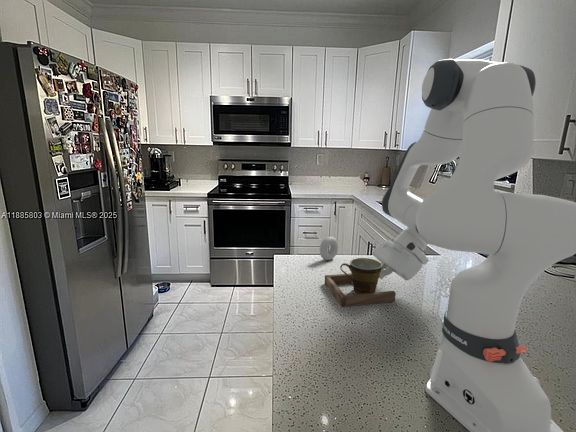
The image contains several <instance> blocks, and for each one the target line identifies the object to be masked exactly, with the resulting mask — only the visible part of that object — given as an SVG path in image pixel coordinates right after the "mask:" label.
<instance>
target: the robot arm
mask: <svg viewBox="0 0 576 432" xmlns="http://www.w3.org/2000/svg"><path fill="white" fill-rule="evenodd" d="M536 83H537V81H536V75H535V73H534V71H533V70H532V69H531V68H529V67H527V66H524V65H522V64H521V65H520V64H517V63H514V62H507V61H504V62H503V61H502V62H499V61H498V62H497V61H492V60H491V61H489V60H485V59H454V58H446V59H445V58H444V59H440V60H437V61H435V62H434V63H433V64H432V65H430V67H429V68H428V70H427V72H426V73H425V76H424V78H423V81H422V85H421V99H422V102H423V104H424V105H425V106H426V107H428V108H429V109H430V112H429V114H428V116H427V119H426V121H425V124H424V128H423V131H422V133H421V136H420V137H419V139H418V140H417V141H415V142H412V143H411V144H410V145H409V146H408V147H407V149H406V150H405V152H404V154H403V157H402V159H401V160H400V163H399V166H398V167H397V169H396V172H395V174H394V176H393V179H392V181H391V183H390V185H389V187H388V189H387V190H386V192H385V193H384V195H383V197H382V200H381V207H382V209H381V210H382V212H383V213H384V214H385V215H387V216H389V217H391V218H393V219H395V220H397V221H398V222H399V223H401V224H402V225H403V226H405V227H406V228H404V229H403V230H402V231H401V232H400V233H399V234H398V235H397V236H396V237H395V238H394V237H393V238H392V237H391V238H388V239H386V240H384V241H382V242H381V243H380V244H379V245H377V246H376V247H375V248H374V249H373V250H372V253H371V254H372V256H373V257H374V258H375V259H377V261H379V262H380V263H381V264H382V269H381V273H380V276H379V279H381V280H383V279H384V278H385V277H386V276H389V275H392V273H393V272H394V273H396V275H398V276H400V277H401V278H402V279H403V280H405V281H410V280H412V279H413V278H414V277H415V276H416V275H418V273H419V272H420V271H421V270H422V268H423V265H424V266H425V265H427V264H428V263H429V261H430V260H429V258H428V257H427V255H426V254H425V253H424V250H425V249H426V248H427V246H428V245H431V246H435V247H438V248H442V249H445V250H450V251H454V252H463V253H464V252H465V253H473V254H474V253H476V254H484V255H488V256H487V257H486V258H485V260H483V261H482V262H481V263H479V264H476V265H474V266H471V267H468V268H465V269H463V270H461V271H459V272H458V273H457V274H456V275H455V276H454V277H453V278H452V279H451V282H450V287H449V295H448V303H447V310H446V311H445V312H444V314H443V319H442V322H441V324H442V327H441V332H442V334H443V335H442V338H441V341H440V344H439V347H438V350H437V352H436V354H435V359H434V363H433V365H432V366H431V368H430V370H429V379H428V381H427V382H426V384H425V385H426V386H425V392H426V394H427V395H428V396H430V397H431V398H432V399H433V400H435V402H436V403H438V404H439V405H440V406H441V407H442V408H444V410H445V411H446V412H448V413H449V415H451V416H452V417H453V418H455V420H457V421H458V422H459V423H460V424H461V425H462V426H463V427H464V428H466V429H467V431H469V432H564V430H563V429H562V428H561V427H560V426H559V425H558V424H557V423H556V422H555V421H554V420H553V419H552V407H551V401H550V399H549V397H548V395H547V394H546V392H545V391H544V389H542V387H541V382H540V380H539V379H538V378H537V377H536V376H534V375H533V374H532V372H531V371H530V369H529V368H528V366H527V365H526V363H525V362H524V361H523V359H522V358H521V354H523V353H527V352H528V350H526V349H528V345H521V346H520V344H519V340H518V335H517V331H516V324H517V319H518V315H519V313H520V312H519V310H520V307H521V304H522V300H523V299H524V296H525V294H526V292H527V290H528V288H529V287H530V286H531V285H532V283H533V282H534V281H535V280H536V278H538V277H539V276H540V275H541V274H542V273H543V272H544V271H545V270H547V269H548V268H550V267H551V266H553V265H555V264H557V263H558V262H560V261H562V260H563V261H564V260H565V259H567V258H570V257H573V256H574V255H576V201H573V200H568V199H564V198H561V197H556V196H555V197H554V196H549V195H546V194H545V195H544V194H534V193H530V194H529V193H515V192H514V193H511V192H499V191H495V181H497V180H499V179H503V178H504V177H508V176H511V175H513V174H515V173H516V172H519V171H521V170H522V169H523V168H525V167H527V166H528V164H529V163H530V162H531V160H532V158H533V155H534V148H535V146H534V143H535V142H534V104H533V103H534V101H533V96H534V93H535V90H536ZM456 159H459V160H458V163H457V165H456V167H455V170H454V171H453V172H452V175H451V176H450V178H449V179H448V180H447V181H446V182H445V183H444V184H443V185H441V186H440V187H439V188H438V189H436V190H435V191H433V192H431V193H430V194H428V195H427V196H426V197H425V198H423V199H422V198H421V197H420V196H418V195H416V194H414V193H413V192H411V190H410V185H411V183H412V181H413V180H414V176H415V175H416V173H417V171H418V169H419V168H420V167H421V166H424V165H425V166H440V165H445V164H449V163H451V162H453V161H455V160H456Z"/></svg>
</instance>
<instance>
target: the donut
mask: <svg viewBox="0 0 576 432" xmlns="http://www.w3.org/2000/svg"><path fill="white" fill-rule="evenodd" d="M329 246H330V247H329ZM338 250H339V243H338V240H337V239H336V238H335V237H334V236H325V238H324V239H323V240H322V241H321V243H320V245H319V255H320V257H321V258H322V259H324V260H325V261H331V260H333V259H334V258H335V257H336V255H337V254H338Z"/></svg>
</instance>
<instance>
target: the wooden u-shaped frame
mask: <svg viewBox="0 0 576 432" xmlns="http://www.w3.org/2000/svg"><path fill="white" fill-rule="evenodd" d="M347 274H348V275H349V276H350V277H352V273H347ZM350 283H351V284H353V282H352V281H351V279H350V278H349V277H348V276H347V275H346V274H345V273H340V274H339V273H337V274H326V275H324V284H325V286H326V287H327V289H328V290H329V292H330V293H331V295H333V296H334V298H335V299H336V301H337V302H338V304H339V305H340V306H341V307H354V306H363V305H373V304H383V303H384V304H385V303H392V302H394V303H395V302H396V292H395V291H394V290H388V291H375V293H364V294H355V293H354V294H353V293H352V294H344V292H343V291H342V290H341V289H340V287H339V286H338V285H339V284H340V285H341V284H342V285H343V284H350Z"/></svg>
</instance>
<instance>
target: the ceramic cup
mask: <svg viewBox="0 0 576 432" xmlns="http://www.w3.org/2000/svg"><path fill="white" fill-rule="evenodd" d="M343 266H345V267H347V268H348V270H349V271H350V272H351V273H352V277H350V276H349V275H348V274H349V273H347V272H346V271H344V270H343V269H342V268H343ZM339 268H340V271H341V272H342V274H346V275H347V276H348V277H349V278H350V279H351V281H352V282H353V283H352V287H353V288H352V289H353V293H354V294H364V293H375V292H376V290H377V287H378V286H377V285H378V282H379V279H380V278H379V276H380V273H381V269H382V264H381V262H380V261H379V260H378V259H377V260H376V259H373V258H367V257H359V258H358V257H357V258H353V259H351V260H350V262H349V263H346V262H345V263H342V264H341V265H340V267H339Z"/></svg>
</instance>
